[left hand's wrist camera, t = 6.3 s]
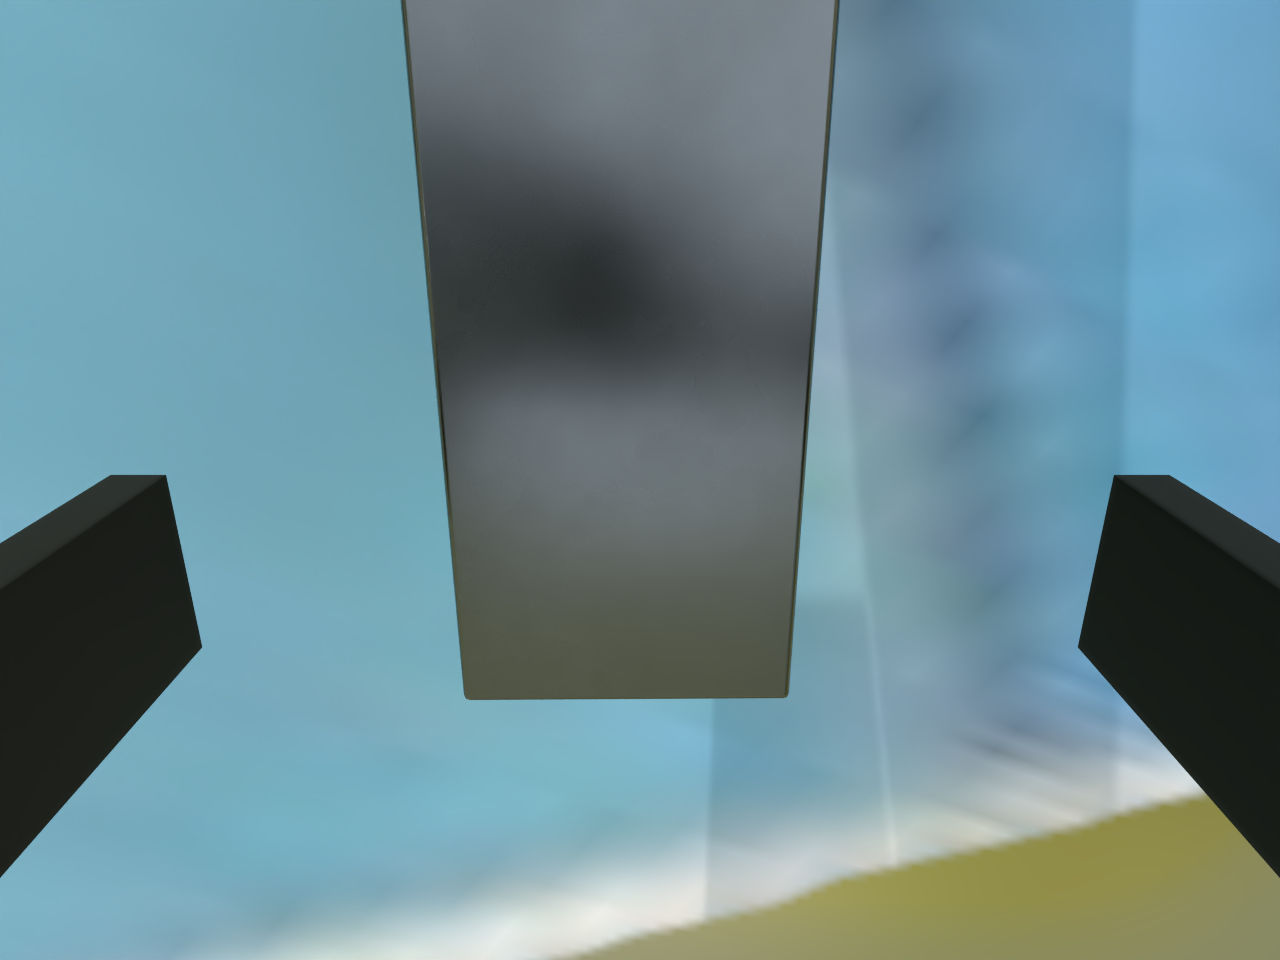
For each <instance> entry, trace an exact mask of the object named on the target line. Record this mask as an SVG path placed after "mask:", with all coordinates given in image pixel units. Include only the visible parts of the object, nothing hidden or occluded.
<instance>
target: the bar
mask: <svg viewBox="0 0 1280 960" xmlns="http://www.w3.org/2000/svg"><path fill="white" fill-rule="evenodd" d="M839 8H840V0H401V11H402V22H403V33H404V44H405V55H406V65H407V76H408V87H409V98H410V109H411V120H412V131H413V142H414V153H415V164H416V175H417V186H418V197H419V208H420V219H421V230H422V241H423V251H424V262H425V273H426V284H427V295H428V306H429V317H430V328H431V339H432V350H433V361H434V372H435V383H436V394H437V405H438V416H439V427H440V438H441V448H442V459H443V470H444V481H445V492H446V503H447V514H448V525H449V536H450V547H451V558H452V569H453V580H454V591H455V602H456V613H457V624H458V634H459V645H460V656H461V667H462V678H463V689H464V695H465V698H466V699H468V700H523V699H690V698H785V697H787V695H788V693H789V683H790V670H791V656H792V643H793V629H794V616H795V602H796V589H797V575H798V562H799V548H800V535H801V521H802V508H803V494H804V481H805V467H806V454H807V440H808V427H809V413H810V400H811V386H812V373H813V359H814V346H815V332H816V319H817V305H818V292H819V278H820V265H821V251H822V238H823V224H824V211H825V197H826V184H827V170H828V157H829V143H830V130H831V116H832V103H833V89H834V76H835V62H836V49H837V35H838V22H839Z"/></svg>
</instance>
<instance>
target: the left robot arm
mask: <svg viewBox="0 0 1280 960" xmlns="http://www.w3.org/2000/svg"><path fill="white" fill-rule="evenodd" d="M201 648H202V644H201V639H200V635H199V630H198V625H197V620H196V616H195V611H194V606H193V601H192V597H191V592H190V587H189V582H188V578H187V573H186V568H185V563H184V559H183V554H182V549H181V544H180V540H179V535H178V530H177V525H176V520H175V516H174V511H173V506H172V501H171V497H170V492H169V487H168V482H167V478H166V475H110V476H108V477H107V478H105V479H103V480H102V481H100V482H99V483H97V484H95V485H94V486H92V487H91V488H89V489H87V490H86V491H84V492H82V493H81V494H79V495H78V496H76V497H74V498H73V499H71V500H70V501H68V502H66V503H65V504H63V505H62V506H60V507H58V508H57V509H55V510H53V511H52V512H50V513H49V514H47V515H45V516H44V517H42V518H41V519H39V520H37V521H36V522H34V523H32V524H31V525H29V526H28V527H26V528H24V529H23V530H21V531H20V532H18V533H16V534H15V535H13V536H11V537H10V538H8V539H7V540H5V541H3V542H2V543H0V877H1V876H2V875H3V874H4V873H5V872H6V871H7V869H8V868H9V867H10V866H11V865H12V864H13V863H14V861H15V860H16V859H17V858H18V857H19V856H20V855H21V853H22V852H23V851H24V850H25V849H26V848H27V847H28V845H29V844H30V843H31V842H32V841H33V840H34V839H35V837H36V836H37V835H38V834H39V833H40V832H41V831H42V829H43V828H44V827H45V826H46V825H47V824H48V823H49V821H50V820H51V819H52V818H53V817H54V816H55V815H56V813H57V812H58V811H59V810H60V809H61V808H62V807H63V805H64V804H65V803H66V802H67V801H68V800H69V799H70V797H71V796H72V795H73V794H74V793H75V792H76V791H77V789H78V788H79V787H80V786H81V785H82V784H83V783H84V781H85V780H86V779H87V778H88V777H89V776H90V775H91V773H92V772H93V771H94V770H95V769H96V768H97V767H98V765H99V764H100V763H101V762H102V761H103V760H104V759H105V757H106V756H107V755H108V754H109V753H110V752H111V751H112V749H113V748H114V747H115V746H116V745H117V744H118V743H119V741H120V740H121V739H122V738H123V737H124V736H125V735H126V734H127V732H128V731H129V730H130V729H131V728H132V727H133V726H134V724H135V723H136V722H137V721H138V720H139V719H140V718H141V716H142V715H143V714H144V713H145V712H146V711H147V710H148V708H149V707H150V706H151V705H152V704H153V703H154V702H155V700H156V699H157V698H158V697H159V696H160V695H161V694H162V692H163V691H164V690H165V689H166V688H167V687H168V686H169V684H170V683H171V682H172V681H173V680H174V679H175V678H176V676H177V675H178V674H179V673H180V672H181V671H182V670H183V668H184V667H185V666H186V665H187V664H188V663H189V662H190V660H191V659H192V658H193V657H194V656H195V655H196V654H197V652H198V651H199V650H200V649H201ZM1078 648H1079V649H1080V650H1081V651H1082V652H1083V654H1084V655H1085V656H1086V657H1087V658H1088V659H1089V660H1090V662H1091V663H1092V664H1093V665H1094V666H1095V667H1096V668H1097V670H1098V671H1099V672H1100V673H1101V674H1102V675H1103V676H1104V678H1105V679H1106V680H1107V681H1108V682H1109V683H1110V684H1111V686H1112V687H1113V688H1114V689H1115V690H1116V691H1117V692H1118V694H1119V695H1120V696H1121V697H1122V698H1123V699H1124V700H1125V702H1126V703H1127V704H1128V705H1129V706H1130V707H1131V708H1132V710H1133V711H1134V712H1135V713H1136V714H1137V715H1138V716H1139V718H1140V719H1141V720H1142V721H1143V722H1144V723H1145V724H1146V726H1147V727H1148V728H1149V729H1150V730H1151V731H1152V732H1153V734H1154V735H1155V736H1156V737H1157V738H1158V739H1159V740H1160V741H1161V743H1162V744H1163V745H1164V746H1165V747H1166V748H1167V749H1168V751H1169V752H1170V753H1171V754H1172V755H1173V756H1174V757H1175V759H1176V760H1177V761H1178V762H1179V763H1180V764H1181V765H1182V767H1183V768H1184V769H1185V770H1186V771H1187V772H1188V773H1189V775H1190V776H1191V777H1192V778H1193V779H1194V780H1195V781H1196V783H1197V784H1198V785H1199V786H1200V787H1201V788H1202V789H1203V791H1204V792H1205V793H1206V794H1207V795H1208V796H1209V797H1210V799H1211V800H1212V801H1213V802H1214V803H1215V804H1216V805H1217V807H1218V808H1219V809H1220V810H1221V811H1222V812H1223V813H1224V815H1225V816H1226V817H1227V818H1228V819H1229V820H1230V821H1231V823H1232V824H1233V825H1234V826H1235V827H1236V828H1237V829H1238V830H1239V832H1240V833H1241V834H1242V835H1243V836H1244V837H1245V839H1246V840H1247V841H1248V842H1249V843H1250V844H1251V845H1252V847H1253V848H1254V849H1255V850H1256V851H1257V852H1258V853H1259V855H1260V856H1261V857H1262V858H1263V859H1264V860H1265V861H1266V863H1267V864H1268V865H1269V866H1270V867H1271V868H1272V869H1273V871H1274V872H1275V873H1276V874H1277V875H1278V876H1279V877H1280V543H1278V542H1277V541H1275V540H1273V539H1272V538H1270V537H1269V536H1267V535H1265V534H1264V533H1262V532H1260V531H1259V530H1257V529H1256V528H1254V527H1252V526H1251V525H1249V524H1248V523H1246V522H1244V521H1243V520H1241V519H1239V518H1238V517H1236V516H1235V515H1233V514H1231V513H1230V512H1228V511H1227V510H1225V509H1223V508H1222V507H1220V506H1218V505H1217V504H1215V503H1214V502H1212V501H1210V500H1209V499H1207V498H1206V497H1204V496H1202V495H1201V494H1199V493H1198V492H1196V491H1194V490H1193V489H1191V488H1189V487H1188V486H1186V485H1185V484H1183V483H1181V482H1180V481H1178V480H1177V479H1175V478H1173V477H1172V476H1170V475H1114V478H1113V482H1112V487H1111V492H1110V497H1109V501H1108V506H1107V511H1106V516H1105V520H1104V525H1103V530H1102V535H1101V540H1100V544H1099V549H1098V554H1097V559H1096V563H1095V568H1094V573H1093V578H1092V582H1091V587H1090V592H1089V597H1088V601H1087V606H1086V611H1085V616H1084V620H1083V625H1082V630H1081V635H1080V639H1079V644H1078Z"/></svg>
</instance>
